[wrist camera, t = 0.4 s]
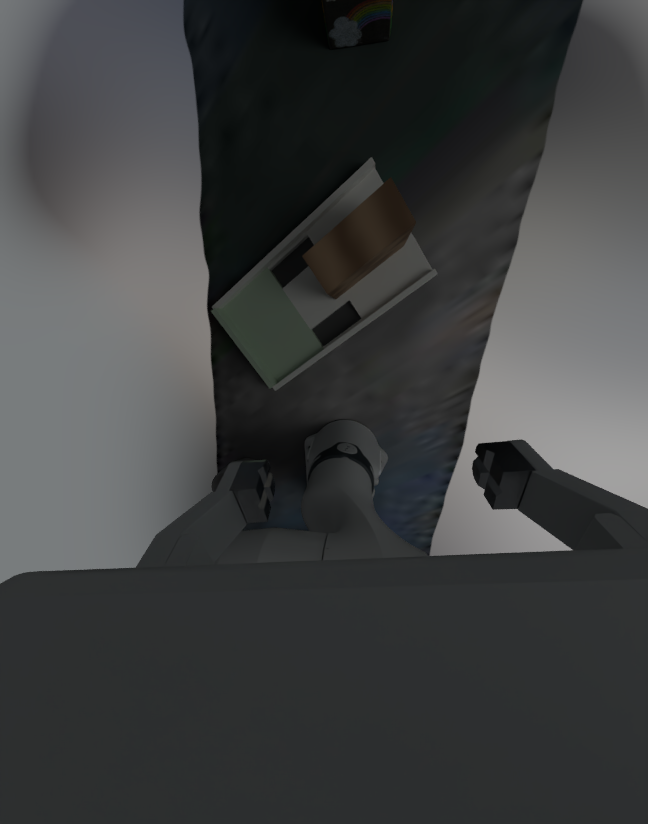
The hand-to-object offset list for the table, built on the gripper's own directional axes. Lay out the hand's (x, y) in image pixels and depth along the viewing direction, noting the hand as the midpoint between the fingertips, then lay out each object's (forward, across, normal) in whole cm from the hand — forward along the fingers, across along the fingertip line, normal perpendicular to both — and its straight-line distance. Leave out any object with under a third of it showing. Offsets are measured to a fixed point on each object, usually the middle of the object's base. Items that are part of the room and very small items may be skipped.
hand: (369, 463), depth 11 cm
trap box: (+47, -4, 0) cm, 47 cm away
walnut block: (+46, +3, +5) cm, 46 cm away
